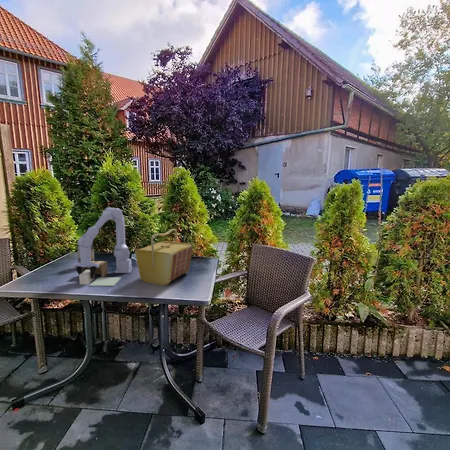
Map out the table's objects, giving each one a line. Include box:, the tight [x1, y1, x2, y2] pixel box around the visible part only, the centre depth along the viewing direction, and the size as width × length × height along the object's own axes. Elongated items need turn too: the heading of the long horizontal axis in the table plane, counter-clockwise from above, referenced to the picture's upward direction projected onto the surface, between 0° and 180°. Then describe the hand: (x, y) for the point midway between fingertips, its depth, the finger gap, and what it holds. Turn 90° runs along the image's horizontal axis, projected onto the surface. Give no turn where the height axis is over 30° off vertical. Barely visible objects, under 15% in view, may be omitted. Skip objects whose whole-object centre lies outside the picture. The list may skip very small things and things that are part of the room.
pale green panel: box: [88, 276, 122, 287], centre depth 177 cm, size 14×14×1 cm
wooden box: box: [83, 260, 109, 277], centre depth 188 cm, size 14×8×8 cm, turn 92°
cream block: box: [78, 270, 95, 285], centre depth 178 cm, size 4×10×6 cm, turn 2°
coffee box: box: [77, 243, 95, 263], centre depth 206 cm, size 9×6×16 cm
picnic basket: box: [134, 228, 194, 286], centre depth 185 cm, size 29×26×30 cm
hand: (87, 278), depth 178 cm, fingers open, 6 cm apart
